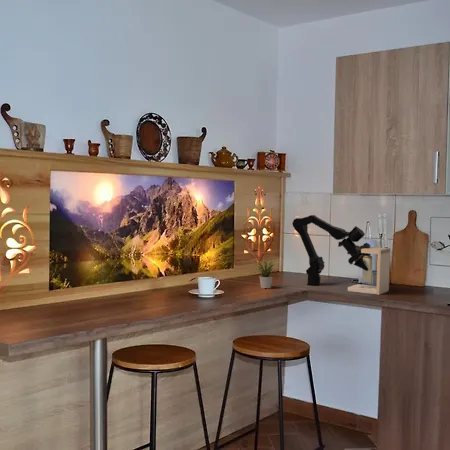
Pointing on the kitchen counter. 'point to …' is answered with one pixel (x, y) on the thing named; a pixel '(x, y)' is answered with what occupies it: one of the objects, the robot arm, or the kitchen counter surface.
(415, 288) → the kitchen counter surface
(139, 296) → the kitchen counter surface
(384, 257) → the light wood frame
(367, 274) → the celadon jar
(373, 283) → the medicine box
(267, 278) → the house plant
